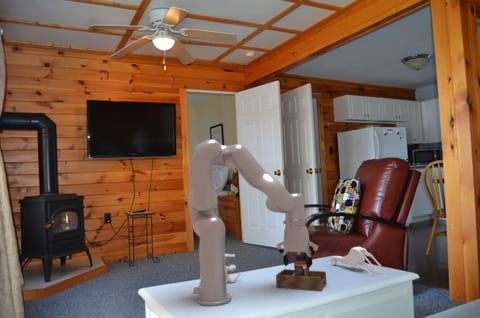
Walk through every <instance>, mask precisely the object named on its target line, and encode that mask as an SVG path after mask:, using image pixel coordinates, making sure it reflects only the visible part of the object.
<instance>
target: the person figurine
mask: <svg viewBox="0 0 480 318" xmlns="http://www.w3.org/2000/svg"><path fill="white" fill-rule="evenodd" d="M235 257H236V255H235V254H229V253H225V261H226V259H227V258H235ZM225 266H226V284H227V283H231V284H234V283H235V282H236V281H237V280H238V278H239V277H240V276H241V272H237V275H236V276H235V277H234V278H233V279H232V278H231V276H230V275H229V274H228V272H234V271H235V270H236V269H237V267H236V265H235V264H230V265H228V266H227V265H226V264H225ZM199 279H200V280H199V281H200V282H199V284H198V285H197V286H196V287H199V288H201V276H200V275H199Z"/></svg>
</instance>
